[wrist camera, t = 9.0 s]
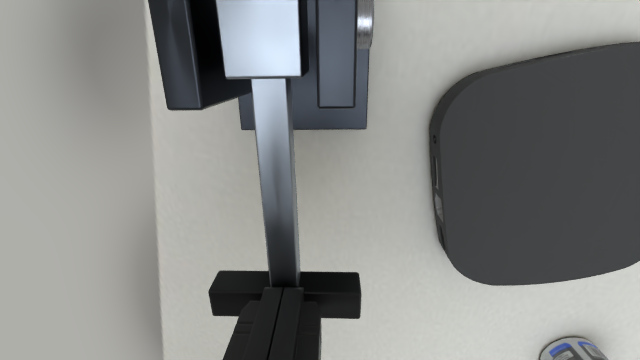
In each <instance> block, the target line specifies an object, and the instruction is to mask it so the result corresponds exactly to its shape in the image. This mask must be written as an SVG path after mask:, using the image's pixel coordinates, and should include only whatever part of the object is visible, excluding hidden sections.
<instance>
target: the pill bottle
mask: <svg viewBox="0 0 640 360" xmlns="http://www.w3.org/2000/svg"><path fill="white" fill-rule="evenodd" d="M540 360H608V359H607V358H606V356H605V355H604V354H603V353H602V352H601V351H600V350H599V349H598V348H597V347H596V346H595V345H594V344H593V343H591V342H590V341H588V340H586V339H583V338H565V339H561V340H558V341H555V342H553V343H552V344H550V345H549V346H548V347H547V348H546V349H545V350H544V351H543V353H542V355H541V358H540Z"/></svg>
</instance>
